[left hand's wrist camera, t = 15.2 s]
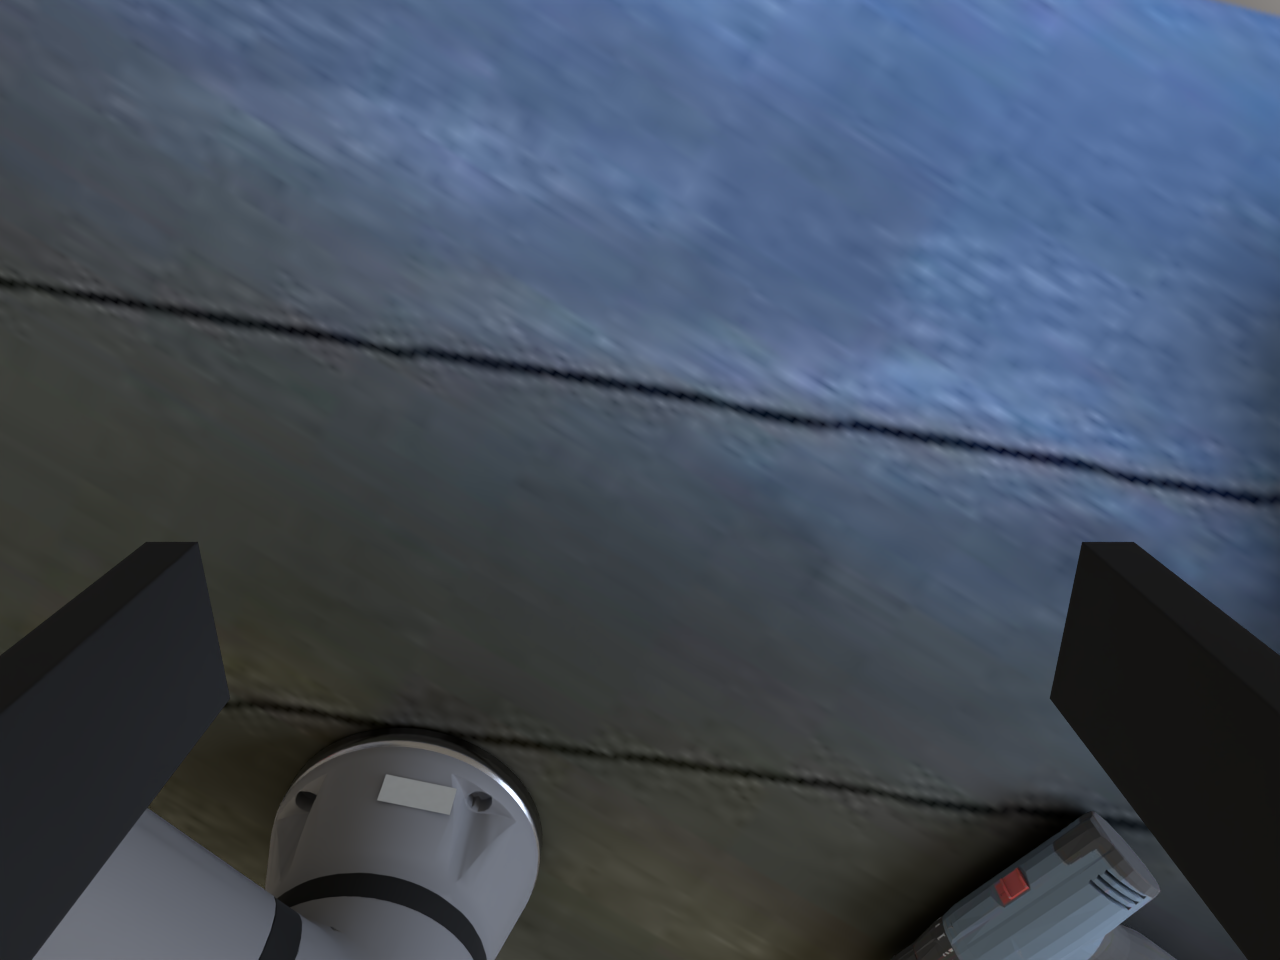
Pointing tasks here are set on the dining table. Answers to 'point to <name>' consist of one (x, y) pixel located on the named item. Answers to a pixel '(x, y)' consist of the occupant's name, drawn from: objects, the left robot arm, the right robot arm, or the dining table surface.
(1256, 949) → the left robot arm
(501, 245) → the dining table surface
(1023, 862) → the power drill
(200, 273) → the dining table surface
